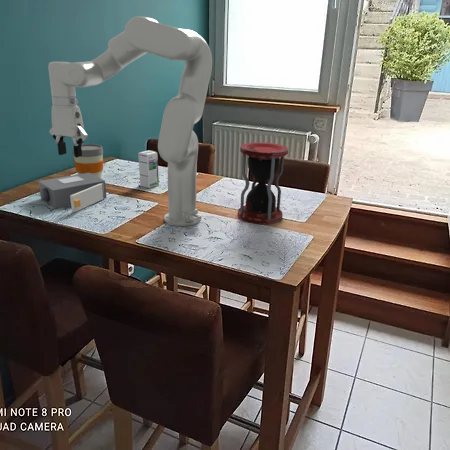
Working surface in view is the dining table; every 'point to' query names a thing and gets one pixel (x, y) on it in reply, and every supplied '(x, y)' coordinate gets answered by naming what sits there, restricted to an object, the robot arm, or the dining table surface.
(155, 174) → the syrup box
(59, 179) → the camera housing
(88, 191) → the side door
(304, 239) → the dining table surface
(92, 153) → the reusable coffee cup
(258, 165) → the hourglass
